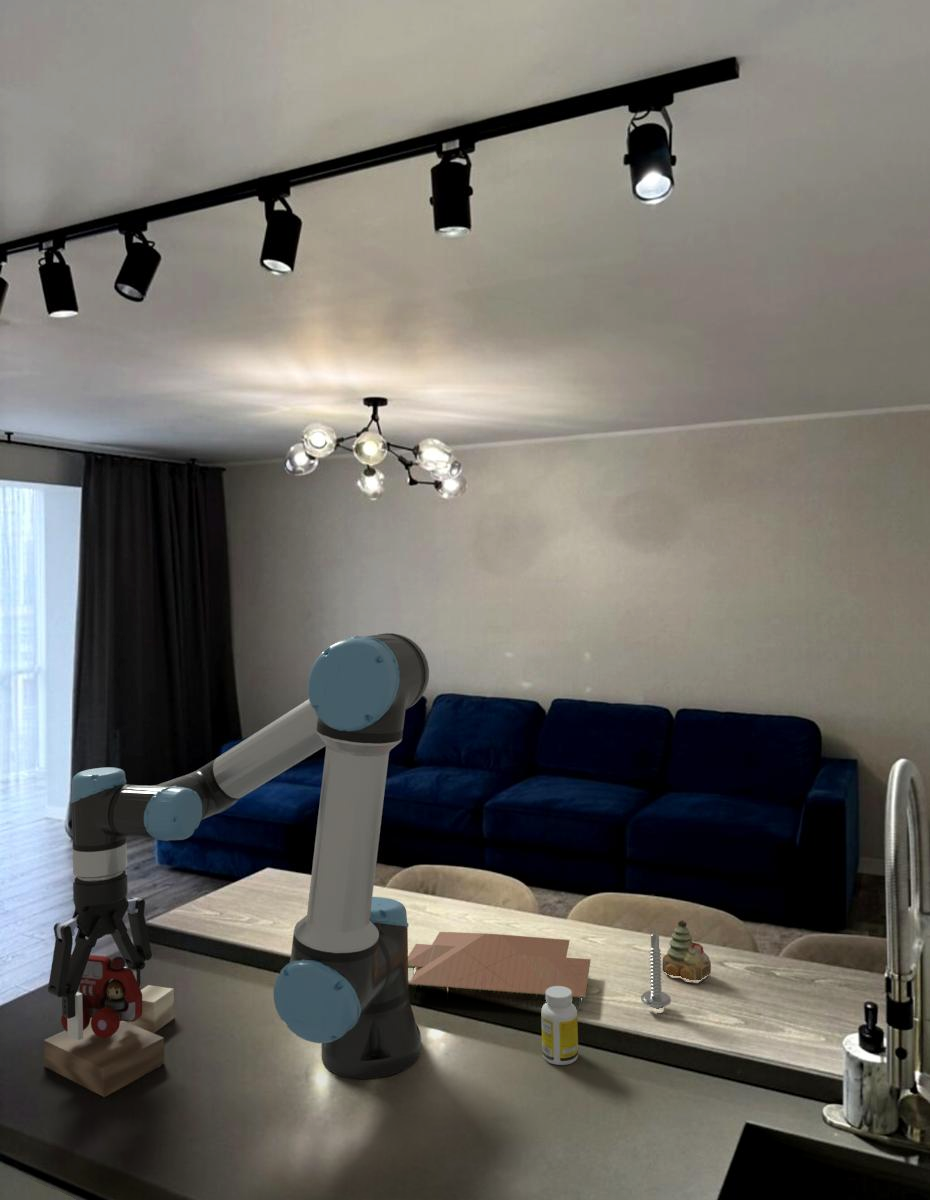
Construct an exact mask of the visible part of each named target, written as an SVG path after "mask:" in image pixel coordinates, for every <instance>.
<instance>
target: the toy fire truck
mask: <svg viewBox="0 0 930 1200" xmlns="http://www.w3.org/2000/svg"><path fill="white" fill-rule="evenodd" d="M71 956H72V953H71ZM70 959H71V958H70ZM124 967H126V963H125V960H124V958H123V957H122V956H119V955H117V956H116V957H114V958H112V959H111V958H110V957H109V956H103V955H93V954H90V956H89V959H88V962H87V964H86V967H85V970H84V973H83V976H82V979H81V982H80V985H79V988H78V991H77V992H79V993H82V1005H83V1030H85V1029H86V1028H87V1027H88V1025H89V1023H90V1019H91V1018H92V1019H91V1027H92V1030H93V1032H94V1033H95V1034H96V1035H97V1036H98V1037H100V1038H108V1037H110V1036H112V1035H113V1034H114V1033H115V1032H116V1031H117V1030H118V1028H119V1025H120V1021H125V1022H128V1023H129V1022H134V1021H136V1020H137V1019H139V1018H140V1017H141V1016H142V993H141V990H142V989H141V988H140V987H139V986H138V983H137V981H136V979H135V976H134V974H133V972H132V970H131V969H129V968H124ZM60 1021H61V1022H60V1023H61V1026H62V1028H63V1030H64V1031H65V1030H66V1031H67V1032H68V1030H67V1018H66V1017H64V1016H63V1014H62V1013H61V1019H60Z"/></svg>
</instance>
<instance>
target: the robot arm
mask: <svg viewBox="0 0 930 1200" xmlns="http://www.w3.org/2000/svg"><path fill="white" fill-rule="evenodd" d="M428 662H429V661H428V659H427V657H426V655H425V653H424V651H423V650H422V648H421V647H420V646H419V645H418V644H417V643H416V642H415V641H413V640H412V639H410V638H409V637H407V636H405V635H402V634H398V633H390V632H388V633H379V634H373V635H364V636H363V635H361V636H360V635H356V636H350V637H347V638H345V639H341V640H340V641H337V642H336V643H334V644H332V645H329V647H327V648H325V650H323V651H322V653H320V654H319V656H318V657H317V658H316V660H315V661H314V663H313V665H312V667H311V668H310V671H309V676H308V681H307V694H308V699H307V700H304V702H302V703H301V704H299V705H298V706H296V707H295V708H293V709H291V710H290V711H288V712H286V713H285V714H283V715H282V716H280V717H278V718H277V719H275V720H274V721H272V722H271V723H269V724H268V725H266V726H264V727H263V728H261V729H259V730H258V731H256V732H255V733H254V734H252V735H250V736H249V737H247V738H246V739H244V740H242V741H241V742H240V743H238V744H236V745H234V746H233V747H231V748H230V749H228V750H227V751H225V752H224V753H222V754H221V755H219V756H218V757H216V758H215V759H213V760H211V761H210V762H208V763H206V764H205V765H204V766H202V767H200V768H198V769H197V770H195V771H193V772H190V773H188V774H185V775H182V776H179V777H176V778H173V779H171V780H168V781H165V782H164V781H163V782H161V783H159V784H154V785H142V784H141V785H140V784H139V785H137V784H129V783H127V780H126V773H125V771H124V769H121V768H118V767H98V768H97V767H96V768H91V769H85V770H82V771H80V772H77V773H76V774H75V775H74V776H73V778H72V780H71V794H70V795H71V796H70V802H69V803H70V809H71V811H70V813H71V825H72V826H71V828H72V874H73V875H74V876H75V877H74V878H73V880H72V891H73V892H72V894H73V895H72V896H73V897H72V901H73V903H74V912H73V915H72V918H71V919H68V920H67V921H65V922H63V923H62V922H56V923H55V924H54V926H53V932H54V938H55V940H54V941H55V942H54V949H53V956H52V963H51V967H50V968H51V969H50V974H49V981H48V986H47V987H48V988H47V992H48V993H49V994H51V995H54V996H55V997H58V998H61V1015H62V1014H63V1016H64V1017H66V1018H67V1030H68V1036H70V1037H72V1038H74V1039H76V1040H80V1039H83V1005H82V993H79V992H77V991H78V988H79V985H80V982H81V979H82V976H83V973H84V970H85V967H86V964H87V962H88V959H89V956H90V955H91V953H92V949H93V948H94V947H95V946H96V945H97V941H98V940H99V939H102V938H103V937H104V936H106V935H107V936H108V935H111V937H112V939H113V941H114V943H115V945H116V947H117V949H118V950H119V952H120V954H121V957H122V958H124V960H125V965H126V966H125V967H124V968H129V969H131V970H132V972H133V974H134V976H135V979H136V981H137V983H138V986H139V988H140V987H141V984H142V983H141V982H142V981H141V971H142V970H143V969H145V968H146V963H145V962H146V961H150V960H151V959H152V957H153V952H152V950H151V949H152V948H151V944H150V939H149V938H150V937H149V933H148V927H147V923H146V918H145V907H146V901H145V899H143V898H140V897H136V896H131V897H130V898H129V899H128V898H127V895H128V890H129V888H128V872H127V871H126V869H127V867H128V847H127V844H128V843H127V838H128V837H129V838H138V839H139V838H140V839H147V840H157V841H164V842H169V841H183V840H186V839H189V838H190V837H191V836H193V834H194V833H195V830H197V829H198V828H199V826H200V823H201V821H203V820H204V819H206V818H209V817H212V816H213V815H216V814H218V815H219V814H221V813H223V812H224V811H227V810H228V809H230V808H231V807H232V806H234V805H235V804H236V803H237V802H238V800H240V799H242V798H244V797H245V796H247V795H248V794H250V793H251V792H253V791H255V790H256V789H258V788H259V787H261V786H262V785H264V784H266V783H268V782H269V781H271V780H272V779H274V778H275V777H278V776H279V775H281V774H282V773H284V772H286V771H287V770H289V769H290V768H292V767H293V766H296V765H297V764H299V763H300V762H302V761H304V760H305V759H306V758H308V757H310V756H312V755H313V754H314V753H316V752H318V751H319V750H321V749H323V748H325V754H324V763H323V772H322V780H321V789H320V797H319V806H318V807H319V808H318V815H317V824H316V832H315V833H316V834H315V841H314V852H313V859H312V865H311V866H312V869H311V876H310V877H311V878H310V884H309V892H308V901H307V913H306V915H305V916H304V917H302V918H301V919H300V920H299V921H297V922H296V924H295V925H294V929H293V935H292V945H291V952H290V960H289V963H287V964H286V965H285V966H283V968H282V969H281V970H280V972H279V973H278V976H277V977H276V980H275V983H274V985H273V986H274V987H273V1001H274V1002H273V1003H274V1006H275V1009H276V1012H277V1014H278V1017H279V1018H280V1020H281V1021H282V1022H284V1023H285V1024H286V1026H287V1028H288V1029H289V1031H290V1032H291V1033H293V1034H294V1035H296V1036H297V1037H298V1038H299V1039H302V1040H304V1041H308V1042H311V1043H314V1044H320V1045H321V1060H322V1063H323V1065H324V1066H325V1068H327V1069H328V1070H329V1071H330V1072H332V1073H334V1074H336V1075H339V1076H341V1077H345V1078H350V1079H358V1080H367V1079H368V1080H369V1079H379V1078H384V1077H385V1078H386V1077H388V1076H392V1075H394V1074H395V1075H396V1074H398V1073H400V1072H403V1071H404V1070H406V1069H407V1068H409V1067H411V1066H412V1065H413V1064H414V1063H416V1061H417V1060H418V1059H419V1057H420V1055H421V1052H422V1036H421V1035H422V1034H421V1031H420V1027H419V1025H418V1024H417V1023H416V1022H417V1021H416V1019H415V1016H414V1011H413V1008H412V1005H411V1002H410V997H409V968H408V956H409V946H408V945H409V937H408V933H409V931H408V928H409V923H408V915H407V914H408V913H407V909H406V907H405V905H404V904H403V903H402V902H401V901H398V900H396V899H394V898H389V897H382V896H373V893H374V885H375V876H376V869H377V861H378V852H379V842H380V833H381V825H382V816H383V809H384V798H385V790H386V783H387V775H388V773H387V772H388V766H389V765H388V764H389V756H390V752H391V750H392V749H394V748H395V747H396V746H397V745H399V744H400V743H401V742H402V740H403V734H404V733H403V732H404V726H405V718H406V717H405V716H406V710H408V709H409V708H411V707H413V706H414V705H415V704H417V702H419V700H420V699H421V698H423V695H424V694H425V691H426V690H427V687H428V684H429V678H430V669H429V663H428ZM126 913H127V917H128V923H129V927H130V932H131V938H132V939H131V938H130V935H129V933H128V928H127V926H126V924H125V922H124V916H125V914H126ZM76 929H77V932H75V930H76ZM76 933H77V934H76ZM75 935H76V936H75ZM73 936H75V939H74V938H73ZM73 939H74V940H73ZM73 941H74V943H75V945H74V948H73V944H74V943H73ZM72 949H73V951H72ZM71 954H72V956H71ZM70 958H71V959H70Z"/></svg>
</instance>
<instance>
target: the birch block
mask: <svg viewBox="0 0 930 1200" xmlns="http://www.w3.org/2000/svg"><path fill="white" fill-rule="evenodd" d="M140 990H141V993H142V1016H141V1017H140V1018H139V1019H137V1020H136V1021H134V1022H129V1021H128V1023H130V1024H133V1025H135V1026H137V1027H140V1028H142V1029H144V1030H147V1031H149V1032H151V1033H154V1034H156V1032H158V1031H159V1030H160V1029H161V1028H163V1027H164V1026H166V1025H167V1024H168V1023H170V1022H171V1021H172V1020H174V1019H175V995H174V994H175V989H174V988H171V987H164V986H159V985H151V984H148V985H146V986H144V987H143V988H142V989H140Z"/></svg>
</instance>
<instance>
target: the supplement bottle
mask: <svg viewBox="0 0 930 1200" xmlns="http://www.w3.org/2000/svg"><path fill="white" fill-rule="evenodd" d="M545 1000H546V1001H545V1002H544V1003H543V1005H542V1008H541V1010H540V1011H541V1014H540V1015H541V1016H540V1017H541V1052H542V1057H543V1059H544V1060H545V1061H546V1062H547V1063H549V1064H552V1065H556V1066H557V1065H558V1066H566V1065H570V1064H573V1063H575V1062H576V1061H577V1059H578V1057H579V1036H578V1035H579V1032H578V1009H576V1006H575V1004H574V1003H572V1002H573V997H572V991H571V990H570V989H569V988H567V987H563V986H553V987H550V988H548V989H547V990H546V995H545ZM546 1002H547V1003H546Z"/></svg>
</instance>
